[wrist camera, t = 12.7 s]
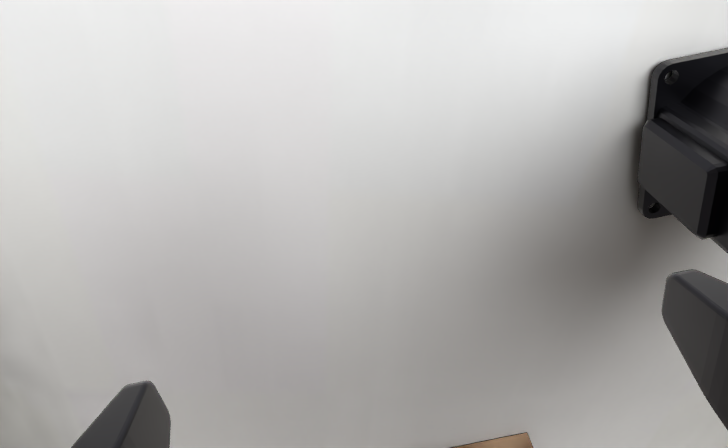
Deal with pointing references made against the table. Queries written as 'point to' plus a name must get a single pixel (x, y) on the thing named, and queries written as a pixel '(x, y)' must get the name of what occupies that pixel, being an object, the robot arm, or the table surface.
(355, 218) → the table surface
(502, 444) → the ring board
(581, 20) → the table surface
